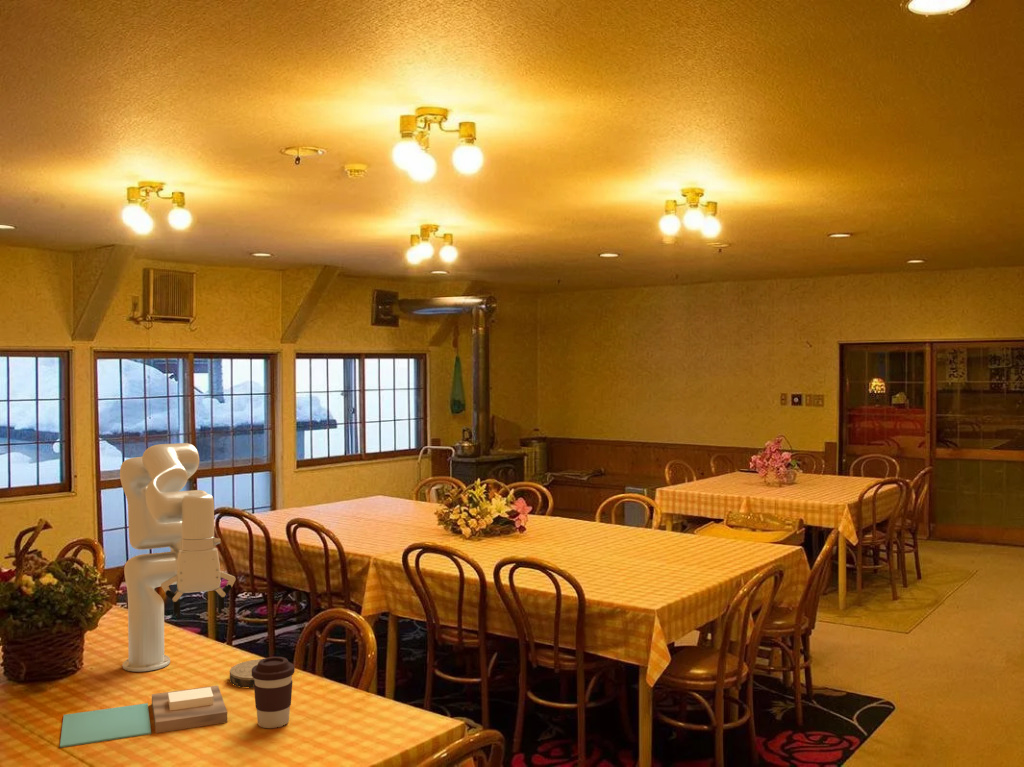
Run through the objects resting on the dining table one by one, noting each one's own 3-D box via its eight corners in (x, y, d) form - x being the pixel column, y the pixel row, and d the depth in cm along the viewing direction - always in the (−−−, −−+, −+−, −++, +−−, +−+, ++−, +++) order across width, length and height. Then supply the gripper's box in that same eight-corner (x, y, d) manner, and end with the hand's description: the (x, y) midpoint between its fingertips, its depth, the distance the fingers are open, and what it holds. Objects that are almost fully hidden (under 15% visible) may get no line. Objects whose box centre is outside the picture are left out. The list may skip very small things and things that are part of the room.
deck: (151, 704, 230) (151, 694, 230) (218, 694, 237) (218, 685, 237) (155, 733, 212) (155, 722, 212) (227, 722, 218) (227, 711, 218)
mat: (63, 716, 222) (63, 714, 222) (147, 704, 230) (147, 703, 230) (59, 747, 204) (59, 745, 204) (151, 733, 211) (151, 732, 211)
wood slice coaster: (239, 693, 239) (239, 682, 239) (222, 676, 252) (222, 665, 252) (298, 682, 247) (298, 671, 247) (279, 665, 261) (279, 655, 261)
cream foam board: (168, 700, 226) (168, 692, 226) (210, 694, 230) (210, 687, 230) (169, 710, 219) (169, 702, 219) (213, 704, 223) (213, 696, 223)
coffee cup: (249, 719, 220) (249, 657, 220) (290, 712, 224) (290, 652, 224) (254, 734, 211) (254, 669, 211) (298, 727, 215) (297, 664, 215)
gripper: (233, 539, 230) (234, 607, 230) (160, 545, 224) (161, 614, 224) (236, 544, 223) (237, 614, 223) (160, 550, 217) (161, 622, 217)
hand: (199, 614), depth 223 cm, fingers open, 9 cm apart
